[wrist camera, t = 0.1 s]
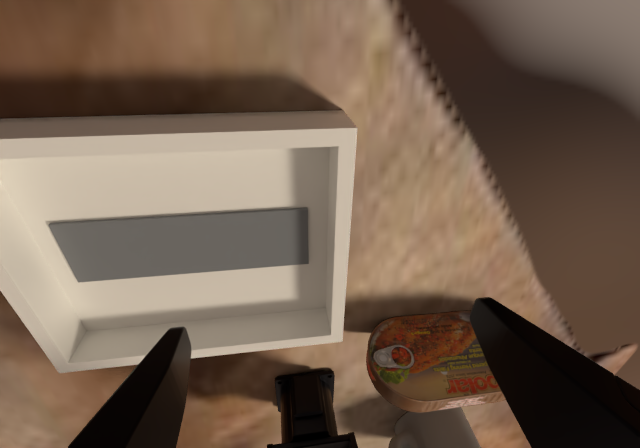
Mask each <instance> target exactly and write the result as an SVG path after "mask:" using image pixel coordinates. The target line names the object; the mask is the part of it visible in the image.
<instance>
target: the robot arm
mask: <svg viewBox="0 0 640 448" xmlns="http://www.w3.org/2000/svg"><path fill="white" fill-rule="evenodd" d="M470 323H471V326H472V328H473V330H474V333H475V335H476V338H477V340H478V343H479V345H480V347H481V350H482V352H483V355H484V357H485V360H486V362H487V364H488V366H489V368H490V370H491V372H492V374H493V376H494V378H495V380H496V382H497V384H498V386H499V387H500V389H501V391H502V393H503V395H504V397H505V399H506V401H507V402H508V404H509V406H510V408H511V410H512V412H513V414H514V416H515V417H516V419H517V421H518V423H519V425H520V427H521V429H522V431H523V432H524V434H525V436H526V438H527V440H528V442H529V444H530V446H531V447H532V448H640V390H639V389H637V388H636V387H634V386H632V385H631V384H629V383H627V382H626V381H624V380H623V379H621V378H619V377H618V376H614V374H613V373H611V372H610V371H608V370H606V369H605V368H603V367H602V366H600V365H598V364H597V363H595V362H594V361H592V360H590V359H589V358H587V357H585V356H584V355H582V354H581V353H579V352H577V351H576V350H574V349H573V348H571V347H569V346H568V345H566V344H565V343H563V342H561V341H560V340H558V339H557V338H555V337H553V336H552V335H550V334H549V333H547V332H545V331H544V330H542V329H540V328H539V327H537V326H536V325H534V324H532V323H531V322H529V321H528V320H526V319H524V318H523V317H521V316H520V315H518V314H516V313H515V312H513V311H512V310H510V309H508V308H507V307H505V306H504V305H502V304H500V303H499V302H497V301H495V300H494V299H492V298H490V297H484V298H477V299H476V300H475V303H474V305H473V308H472V311H471V313H470ZM191 350H192V349H191V342H190V339H189V336H188V333H187V330H186V328H185V327H183V326H182V327H172V328H170V329H168V330H167V332H166V333H165V334H164V335H163V336H162V337H161V339H160V340H159V341H158V342H157V343H156V344H155V346H154V347H153V348H152V349H151V350H150V351H149V353H148V354H147V355H146V356H145V357H144V358H143V360H142V361H141V362H140V363H139V364H138V365H137V367H136V368H135V369H134V370H133V371H132V372H131V374H130V375H129V376H128V377H127V378H126V379H125V381H124V382H123V383H122V384H121V385H120V386H119V388H118V389H117V390H116V391H115V392H114V393H113V395H112V396H111V397H110V398H109V399H108V400H107V402H106V403H105V404H104V405H103V406H102V407H101V409H100V410H99V411H98V412H97V413H96V414H95V416H94V417H93V418H92V419H91V420H90V421H89V423H88V424H87V425H86V426H85V427H84V428H83V430H82V431H81V432H80V433H79V434H78V435H77V437H76V438H75V439H74V440H73V441H72V442H71V444H70V445H69V446H68V448H176V445H177V440H178V436H179V432H180V427H181V423H182V418H183V414H184V409H185V403H186V396H187V387H188V378H189V369H190V361H191ZM275 387H276V396H277V405H278V411H279V412H281V434H282V444H275V445H273V444H268V445H267V448H358V446H357V443H356V439H355V435H354V432H351V433H348V434H344V435H338V433H337V427H336V421H335V415H334V409H333V394H334V372H333V371H332V370H329V371H320V372H312V373H304V374H296V375H287V376H279V377H276V378H275Z"/></svg>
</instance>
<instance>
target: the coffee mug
mask: <svg viewBox="0 0 640 448" xmlns="http://www.w3.org/2000/svg"><path fill="white" fill-rule="evenodd" d="M394 430H395V434H396V435H395V436H394V437H393V438H392V439H391V441H390V443H389V448H481V447H480V445H479V443H478V441H477V439H476V437H475V435H474V433H473V431H472V429H471V427H470V425H469V423H468V421H467V419H466V417H465V415H464V413H463V410H462V409H461V407H457V408H451V409H444V410H437V411H431V412H422V413H418V412H410V411H409V412H408V413H406V414H405V415H403V416H402V417H401V418H400V419H399V420H398V421H397V423H396V425H395V428H394Z"/></svg>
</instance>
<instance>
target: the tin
mask: <svg viewBox="0 0 640 448" xmlns="http://www.w3.org/2000/svg"><path fill="white" fill-rule="evenodd" d="M470 313H471V311H455V312H445V313H435V314H424V315H412V316H401V317H393V318H390V319H387V320H385V321H383V322H381V323H380V324H379V325H378V326H376V327H375V329H374V330H373V332H372V333H371V335H370V338H369V341H368V350H367V357H366V363H367V370H368V374H369V377H370V379H371V381H372V383H373V385H374V387H375V388H376V390H377V391H378V392H379V393H380V394H381V395H382V396H383V397H384V398H385V399H386V400H387V401H389V402H390V403H391V404H393V405H395V406H397V407H399V408H401V409H403V410H406V411H410V412H418V413H422V412H431V411H437V410H444V409H451V408H457V407H465V406H472V405H479V404H486V403H494V402H500V401H503V400H506V399H505V397H504V395H503V393H502V391H501V389H500V387H499V386H498V384H497V382H496V380H495V378H494V376H493V374H492V372H491V370H490V368H489V366H488V364H487V362H486V360H485V357H484V355H483V352H482V350H481V347H480V345H479V343H478V340H477V338H476V335H475V333H474V330H473V328H472V326H471V323H470Z"/></svg>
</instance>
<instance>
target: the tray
mask: <svg viewBox="0 0 640 448" xmlns="http://www.w3.org/2000/svg"><path fill="white" fill-rule="evenodd" d="M356 141H357V127H356V125H355V124H354V123H353V122H352V120H351V119H350V118H349V117H348V115H347V114H346V113H345V112H344V111H343V110H326V111H286V112H246V113H206V114H166V115H126V116H85V117H45V118H5V119H0V291H1V292H2V294H3V295H4V296H5V298H6V299H7V301H8V302H9V303H10V305H11V306H12V308H13V309H14V310H15V312H16V313H17V315H18V316H19V317H20V319H21V320H22V322H23V323H24V324H25V326H26V327H27V329H28V330H29V331H30V333H31V334H32V336H33V337H34V339H35V340H36V341H37V343H38V344H39V346H40V347H41V348H42V350H43V351H44V353H45V354H46V355H47V357H48V358H49V360H50V361H51V362H52V364H53V365H54V367H55V368H56V369H57V371H58V372H59V373H65V372H74V371H83V370H92V369H101V368H110V367H119V366H128V365H137V364H139V363H140V362H141V361H142V360H143V358H144V357H145V356H146V355H147V354H148V353H149V351H150V350H151V349H152V348H153V347H154V346H155V344H156V343H157V342H158V341H159V340H160V339H161V337H162V336H163V335H164V334H165V333H166V332H167V330H168V329H170V328H172V327H182V326H183V327H185V328H186V330H187V333H188V336H189V339H190V342H191V349H192V350H191V358H200V357H209V356H218V355H227V354H236V353H245V352H254V351H263V350H272V349H281V348H290V347H299V346H308V345H317V344H326V343H335V342H342V341H343V327H344V312H345V298H346V284H347V270H348V255H349V241H350V227H351V213H352V198H353V184H354V170H355V156H356Z"/></svg>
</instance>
